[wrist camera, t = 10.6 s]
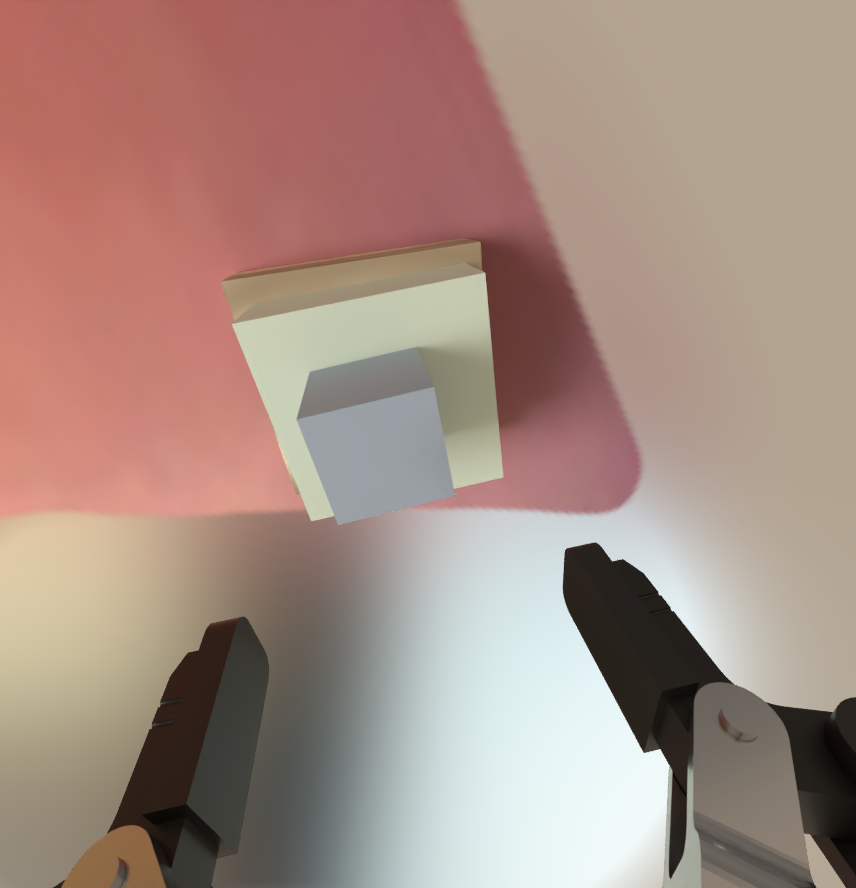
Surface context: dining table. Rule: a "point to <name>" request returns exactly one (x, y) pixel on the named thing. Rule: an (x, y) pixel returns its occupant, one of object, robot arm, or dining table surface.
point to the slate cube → (375, 435)
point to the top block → (377, 333)
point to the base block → (342, 276)
